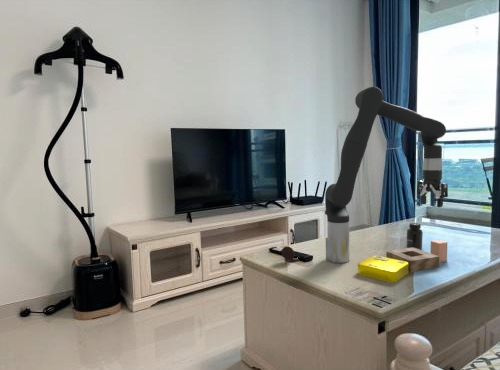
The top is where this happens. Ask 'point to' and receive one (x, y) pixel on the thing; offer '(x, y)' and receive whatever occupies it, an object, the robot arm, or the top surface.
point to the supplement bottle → (414, 236)
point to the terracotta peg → (439, 249)
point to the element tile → (383, 268)
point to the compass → (289, 254)
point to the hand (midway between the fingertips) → (431, 205)
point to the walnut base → (415, 258)
